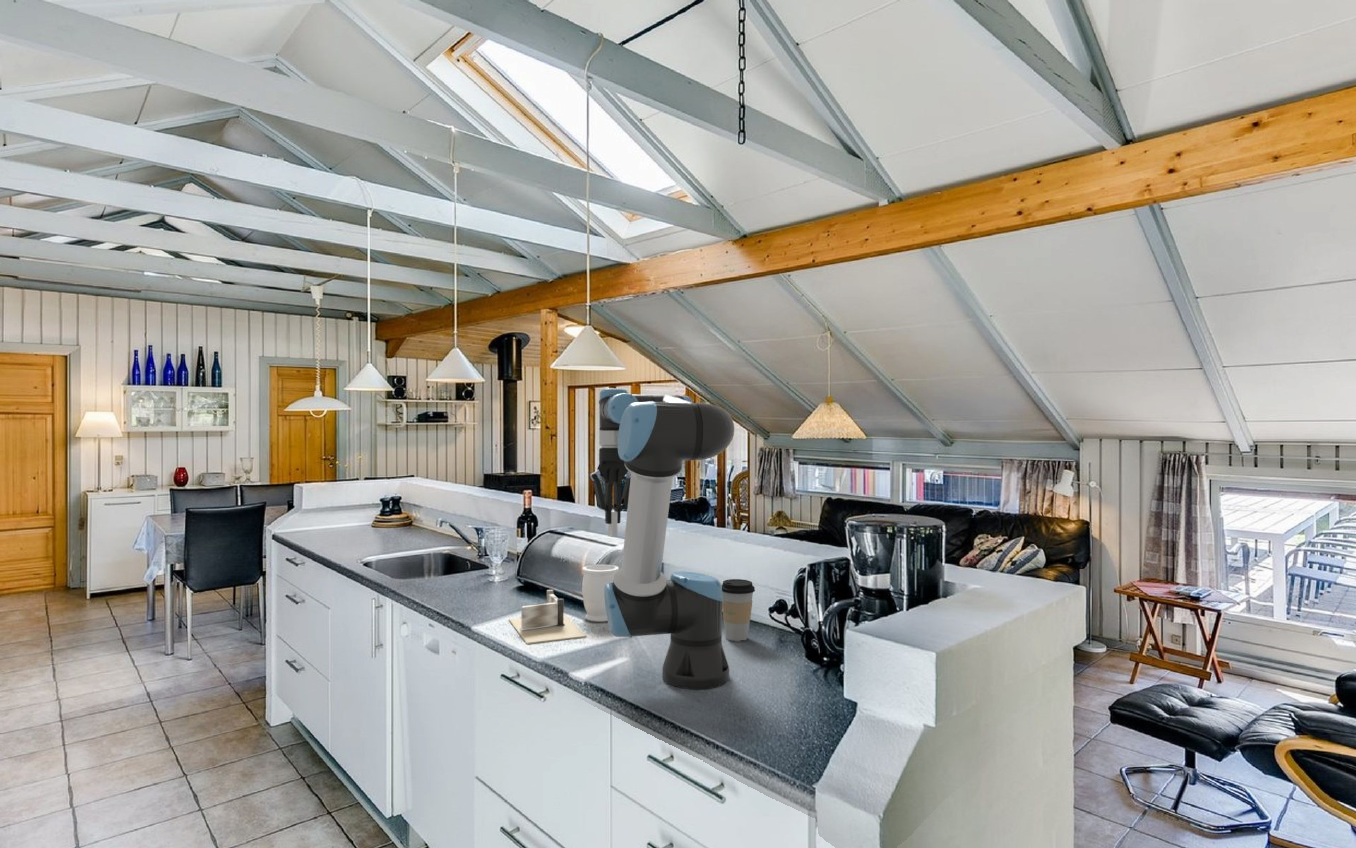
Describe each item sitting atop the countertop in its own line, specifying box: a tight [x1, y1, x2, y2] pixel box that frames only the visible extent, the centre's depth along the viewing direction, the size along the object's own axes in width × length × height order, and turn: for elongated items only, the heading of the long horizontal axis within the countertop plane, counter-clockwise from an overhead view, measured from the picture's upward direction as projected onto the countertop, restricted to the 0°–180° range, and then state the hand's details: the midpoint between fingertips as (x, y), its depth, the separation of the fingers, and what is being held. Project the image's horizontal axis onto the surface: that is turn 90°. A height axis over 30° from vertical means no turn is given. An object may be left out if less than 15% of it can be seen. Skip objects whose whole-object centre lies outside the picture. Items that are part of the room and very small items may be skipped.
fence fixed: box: [546, 589, 565, 626], centre depth 201 cm, size 14×2×7 cm, turn 24°
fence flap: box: [520, 598, 565, 630], centre depth 194 cm, size 12×2×7 cm, turn 121°
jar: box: [581, 563, 620, 623], centre depth 205 cm, size 11×10×15 cm
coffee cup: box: [721, 578, 756, 642], centre depth 188 cm, size 9×9×15 cm
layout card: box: [508, 614, 587, 645], centre depth 195 cm, size 24×16×1 cm, turn 24°
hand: (612, 536), depth 185 cm, fingers closed
